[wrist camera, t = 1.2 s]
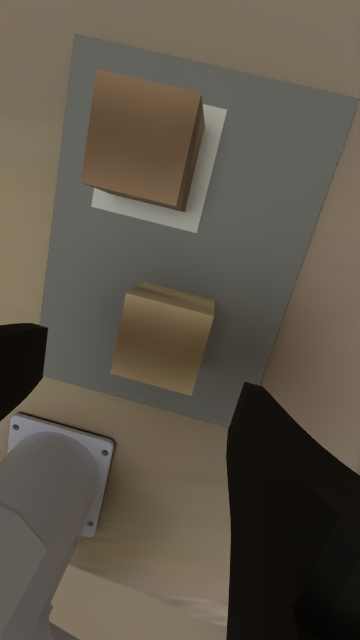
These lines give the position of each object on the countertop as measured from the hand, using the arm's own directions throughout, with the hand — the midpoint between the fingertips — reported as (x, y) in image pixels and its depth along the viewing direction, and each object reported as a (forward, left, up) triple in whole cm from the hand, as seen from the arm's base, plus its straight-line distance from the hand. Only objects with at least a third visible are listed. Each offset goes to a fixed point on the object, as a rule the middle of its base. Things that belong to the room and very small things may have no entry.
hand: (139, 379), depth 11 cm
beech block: (-1, 0, -9) cm, 9 cm away
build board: (+3, +1, -10) cm, 10 cm away
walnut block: (+8, +3, -9) cm, 13 cm away
